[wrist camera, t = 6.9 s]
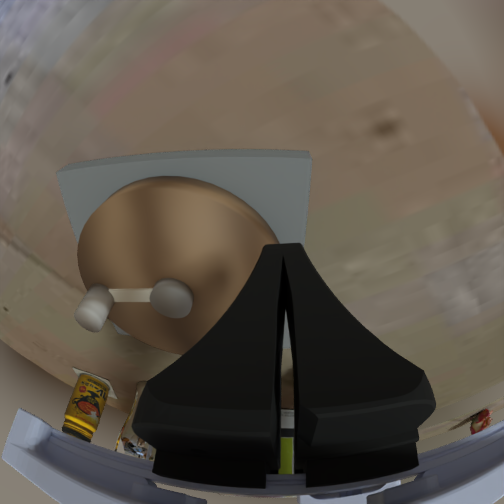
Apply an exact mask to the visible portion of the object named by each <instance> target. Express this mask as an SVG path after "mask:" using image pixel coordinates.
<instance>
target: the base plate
mask: <svg viewBox="0 0 504 504" xmlns="http://www.w3.org/2000/svg"><path fill="white" fill-rule="evenodd" d="M311 168H312V158H311V155H310V153H309V151H294V150H261V149H228V150H195V151H177V152H163V153H151V154H140V155H131V156H122V157H114V158H106V159H99V160H92V161H86V162H80V163H74V164H68V165H67V166H65V167H64V168H62V169H61V170H59V171H58V172H56V174H57V178H58V182H59V186H60V189H61V193H62V197H63V200H64V203H65V207H66V210H67V213H68V216H69V219H70V222H71V225H72V228H73V231H74V234H75V237H76V240H77V243H78V242H79V238H80V234H81V232H82V229H83V227H84V225H85V223H86V222H87V220H88V219H89V217H90V216H91V214H92V213H93V212H94V211H95V210H96V209H97V208H98V207H99V206H100V205H101V204H102V203H103V202H105V201H106V200H107V199H108V198H109V197H110V196H111V195H112V194H113V193H114V192H116V191H117V190H119V189H120V188H122V187H123V186H125V185H128V184H130V183H132V182H134V181H137V180H141V179H145V178H148V177H156V176H182V177H188V178H194V179H198V180H201V181H205V182H208V183H211V184H214V185H216V186H218V187H221V188H223V189H225V190H227V191H229V192H231V193H232V194H234V195H236V196H237V197H239V198H240V199H242V200H243V201H245V202H246V203H247V204H248V205H250V206H251V207H252V208H253V209H255V210H256V211H257V212H258V213H259V214H260V215H261V217H262V218H263V219H264V220H265V221H266V222H267V223H268V225H269V226H270V227H271V229H272V230H273V232H274V233H275V235H276V237H277V239H278V241H279V243H280V244H282V243H301V244H302V245H303V248H304V242H305V233H306V224H307V214H308V203H309V192H310V180H311ZM112 323H113V322H112ZM113 325H114V327H115V329H116V331H117V333H118V334H123V335H129V334H128V333H126V332H125V331H123V330H122V329H121V328H119V327H118V326H117V325H116V324H114V323H113ZM129 336H131V335H129ZM283 348H290V337H289V330H288V322H287V315H286V313H285V326H284V339H283Z"/></svg>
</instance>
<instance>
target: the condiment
mask: <svg viewBox="0 0 504 504" xmlns="http://www.w3.org/2000/svg"><path fill="white" fill-rule="evenodd" d="M72 368H73V367H72ZM73 369H74V371H75V373H76V374H77V376H78V381H77V383H76V386H75V388H74V391H73V393H72V396H71V398H70V401H69V404H68V406H67V409H66V412H65V421H64V425H63V427H62V431H63V432H64V433H66V434H68V435H71V436H73V437H76V438H78V439H81V440H83V441H86V442H89V443H90V442H91V438H92V436H93V435H92V434H93V433H94V432H95V431H96V430H97V427H98V424H99V421H100V417H101V415H102V412H103V410H104V406H105V403H106V400H107V397H108V396H110V397H113V398H115V399H117V397H116V396H115V393H114V391H113V389H112V387H111V385H110V382H109V381H108V380H106V379H103V378H101V377H98V376H96V375H93V374H90V373H87V372H85V371H81V370H78V369H75V368H73Z"/></svg>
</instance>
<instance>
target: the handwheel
mask: <svg viewBox="0 0 504 504" xmlns="http://www.w3.org/2000/svg"><path fill="white" fill-rule="evenodd" d="M266 244H280V243H279V241H278V239H277V237H276V235H275V233H274V232H273V230H272V229H271V227H270V226H269V225H268V223H267V222H266V221H265V220H264V219H263V218H262V217H261V215H260V214H259V213H258V212H257V211H256V210H255V209H253V208H252V207H251V206H250V205H248V204H247V203H246V202H245V201H243V200H242V199H240V198H239V197H237V196H236V195H234V194H232V193H231V192H229V191H227V190H225V189H223V188H221V187H218V186H216V185H214V184H211V183H208V182H205V181H201V180H198V179H194V178H188V177H182V176H156V177H148V178H145V179H141V180H137V181H134V182H132V183H130V184H128V185H125V186H123V187H122V188H120V189H119V190H117V191H116V192H114V193H113V194H112V195H111V196H110V197H109V198H108V199H107V200H106V201H105V202H103V203H102V204H101V205H100V206H99V207H98V208H97V209H96V210H95V211H94V212H93V213H92V214H91V216H90V217H89V219H88V220H87V222H86V223H85V225H84V227H83V229H82V232H81V234H80V238H79V242H78V252H77V256H78V266H79V270H80V274H81V277H82V280H83V283H84V285H85V287H86V289H87V293H86V295H85V296H84V298H83V299H82V301H81V303H80V304H79V306H78V308H77V309H76V311H75V313H74V317H75V319H76V321H77V322H78V323H79V324H80V325H81V326H82V327H83V328H85V329H86V330H88V331H91V332H99V331H100V330H101V328H102V326H103V324H104V322H105V320H106V318H107V317H108V318H109V319H110V320H111V321H112V322H113V323H114V324H116V325H117V326H118V327H119V328H121V329H122V330H123V331H125V332H126V333H128V334H129V335H131V336H133V337H134V338H136V339H138V340H140V341H142V342H144V343H146V344H148V345H150V346H153V347H155V348H158V349H161V350H164V351H167V352H171V353H175V354H179V355H184V354H185V353H186V352H187V351H188V350H189V349H190V348H191V347H193V346H194V345H195V344H196V343H197V342H198V341H199V340H200V339H201V338H202V337H203V336H204V335H205V334H206V333H207V332H208V331H209V330H210V329H211V328H212V327H213V326H214V325H215V324H216V322H217V321H218V320H219V319H220V318H221V317H222V315H223V314H224V313H225V312H226V311H227V309H228V308H229V307H230V305H231V304H232V303H233V301H234V300H235V299H236V297H237V295H238V294H239V292H240V291H241V289H242V288H243V286H244V285H245V283H246V282H247V280H248V278H249V276H250V274H251V273H252V271H253V269H254V267H255V265H256V263H257V261H258V259H259V256H260V254H261V251H262V248H263V247H264V246H265V245H266Z"/></svg>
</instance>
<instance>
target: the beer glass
mask: <svg viewBox="0 0 504 504" xmlns="http://www.w3.org/2000/svg"><path fill="white" fill-rule="evenodd" d="M146 382H147V381H142V382H138V383H137V385H136V394H135V400H134V404H133V407H132V409H131V411H130V413H129V415H128V417H127V419H126V421H125V423H124V425H123V427H122V429H121V431H120V433H119V435H118V439H117V442H116V445H115V450H114V451H116V452H119V453H123V454H126V455H130V456H133V457H137V458H141V459H145V460H150V461H154V459H155V454H156V449H155V448H154V447H152V446H151V445H149V444H148V443H146V442H145V441H144V440H142V439H141V438H139V437H138V436H137V435H136V434H135V433H134V432H133V430H132V427H131V425H132V422H133V418H134V415H135V411H136V408H137V404H138V401H139V398H140V396H141V393H142V391H143V389H144V387H145V385H146ZM152 482H153V481H152Z"/></svg>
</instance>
